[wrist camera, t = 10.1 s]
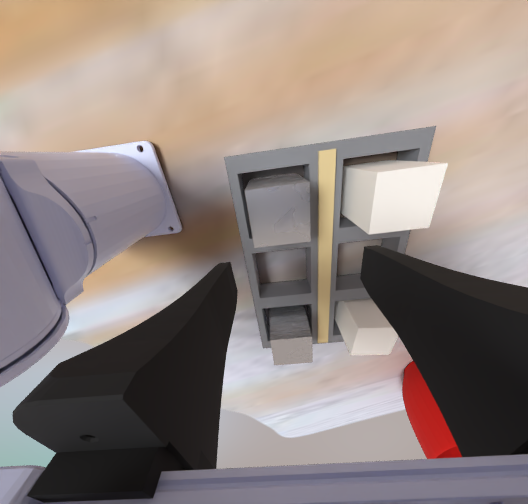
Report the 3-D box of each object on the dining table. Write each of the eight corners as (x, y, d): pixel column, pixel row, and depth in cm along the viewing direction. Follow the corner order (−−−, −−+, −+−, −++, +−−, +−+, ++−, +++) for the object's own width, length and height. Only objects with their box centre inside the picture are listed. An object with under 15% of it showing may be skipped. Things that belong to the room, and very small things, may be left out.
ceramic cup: (463, 311, 25) (576, 400, 16) (474, 375, 31) (557, 463, 22) (365, 345, 28) (413, 436, 19) (394, 397, 34) (439, 481, 26)
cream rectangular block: (331, 311, 25) (350, 355, 19) (336, 287, 23) (358, 328, 17) (362, 311, 25) (389, 354, 19) (369, 286, 23) (401, 327, 17)
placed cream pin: (338, 211, 18) (368, 234, 13) (340, 166, 16) (377, 172, 11) (380, 205, 18) (429, 227, 13) (387, 159, 16) (448, 162, 11)
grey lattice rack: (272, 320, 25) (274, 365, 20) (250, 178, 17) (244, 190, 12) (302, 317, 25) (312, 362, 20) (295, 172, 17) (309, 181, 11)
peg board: (263, 331, 26) (263, 350, 24) (229, 156, 16) (223, 157, 14) (373, 321, 25) (385, 340, 23) (411, 129, 15) (439, 125, 13)
